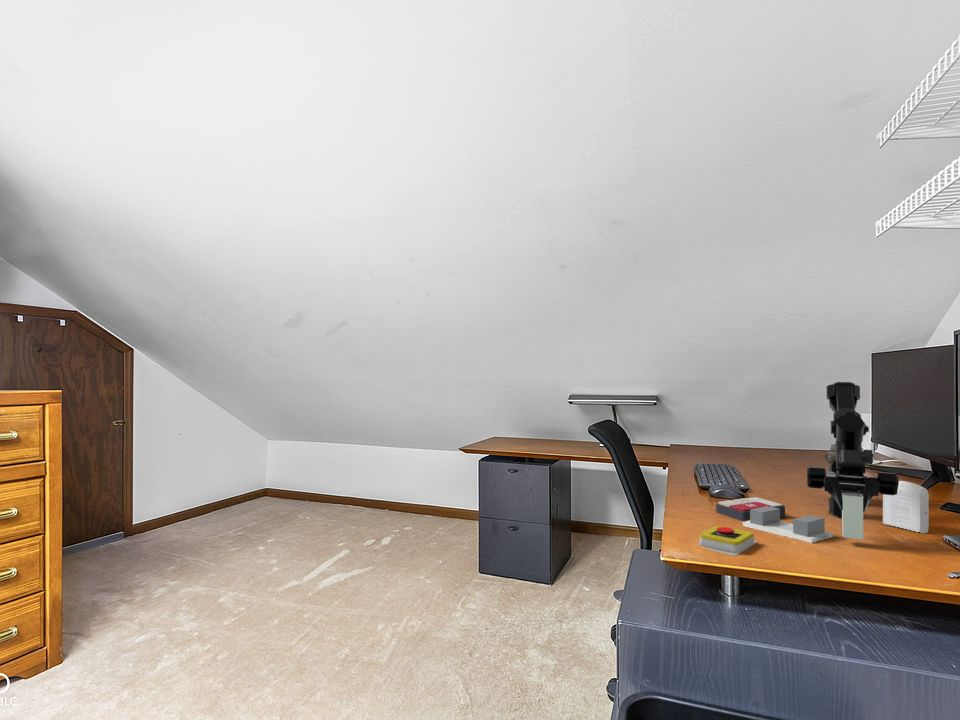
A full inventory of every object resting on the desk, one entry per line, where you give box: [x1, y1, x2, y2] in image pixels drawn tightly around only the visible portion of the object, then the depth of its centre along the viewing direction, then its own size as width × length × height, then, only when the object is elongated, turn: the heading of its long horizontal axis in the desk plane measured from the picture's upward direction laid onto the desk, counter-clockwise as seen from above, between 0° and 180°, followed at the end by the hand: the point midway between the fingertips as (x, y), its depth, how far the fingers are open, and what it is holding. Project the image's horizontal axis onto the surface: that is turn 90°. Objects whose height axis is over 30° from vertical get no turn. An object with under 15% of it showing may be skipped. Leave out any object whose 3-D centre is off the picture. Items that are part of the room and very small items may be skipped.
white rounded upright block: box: [882, 480, 930, 534], centre depth 150 cm, size 10×4×12 cm, turn 23°
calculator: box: [715, 496, 786, 522], centre depth 164 cm, size 11×4×15 cm
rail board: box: [742, 506, 834, 544], centre depth 147 cm, size 18×10×4 cm, turn 32°
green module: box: [841, 492, 864, 540], centre depth 136 cm, size 4×4×10 cm
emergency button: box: [698, 525, 758, 557], centre depth 135 cm, size 9×4×15 cm
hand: (852, 509), depth 135 cm, fingers closed on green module, 4 cm apart
